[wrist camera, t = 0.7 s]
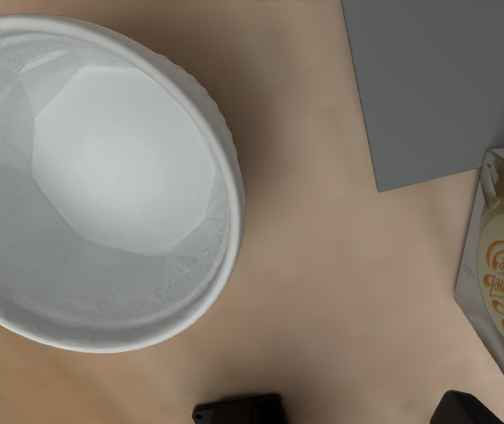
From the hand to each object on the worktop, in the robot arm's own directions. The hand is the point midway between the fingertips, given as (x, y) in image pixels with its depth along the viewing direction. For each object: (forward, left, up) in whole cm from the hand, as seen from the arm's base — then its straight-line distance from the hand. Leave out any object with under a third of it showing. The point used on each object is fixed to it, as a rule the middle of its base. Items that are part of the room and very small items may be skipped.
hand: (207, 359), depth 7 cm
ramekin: (+2, +6, -14) cm, 15 cm away
